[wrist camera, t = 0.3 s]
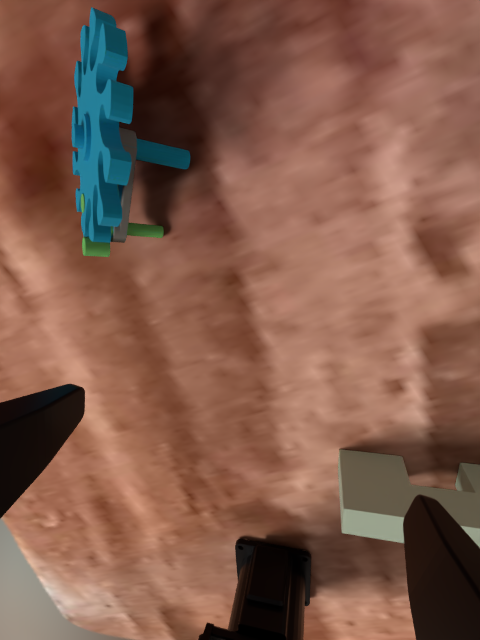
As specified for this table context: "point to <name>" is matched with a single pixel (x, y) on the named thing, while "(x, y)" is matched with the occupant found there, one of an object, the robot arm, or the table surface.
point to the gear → (109, 140)
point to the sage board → (398, 496)
